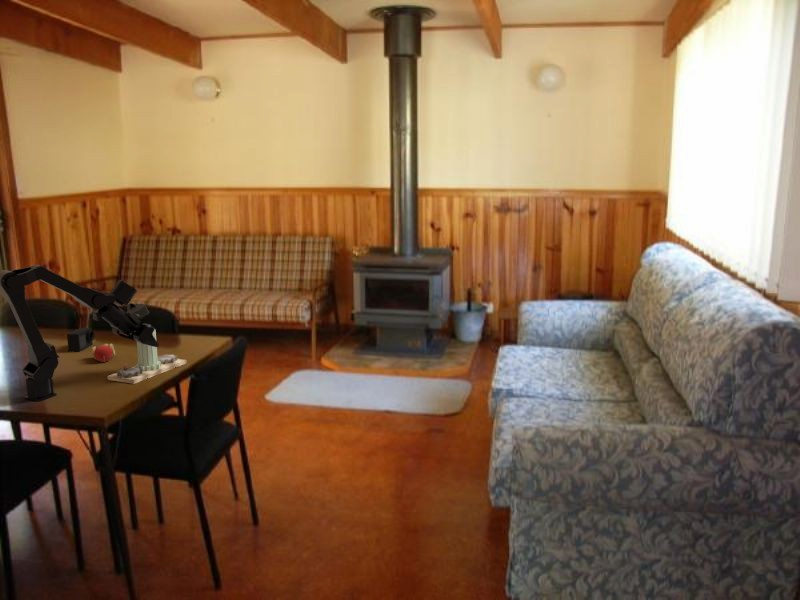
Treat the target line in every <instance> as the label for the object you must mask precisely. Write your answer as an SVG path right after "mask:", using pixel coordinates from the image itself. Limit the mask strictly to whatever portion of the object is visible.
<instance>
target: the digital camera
mask: <svg viewBox="0 0 800 600" xmlns="http://www.w3.org/2000/svg"><path fill="white" fill-rule="evenodd" d="M66 338H67V339H66V340H67V349H68V352H69V351H71V352H70V353H81V352H82V351H85V350H86V349H88V348H90V347H91V345H92V346H93V341H94V339H95V330H93V329H92V327H80V328H78V329H75V330H73V331H71V332H69V333H67V334H66ZM89 346H90V347H89ZM72 351H74V352H72ZM80 351H81V352H80Z"/></svg>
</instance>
